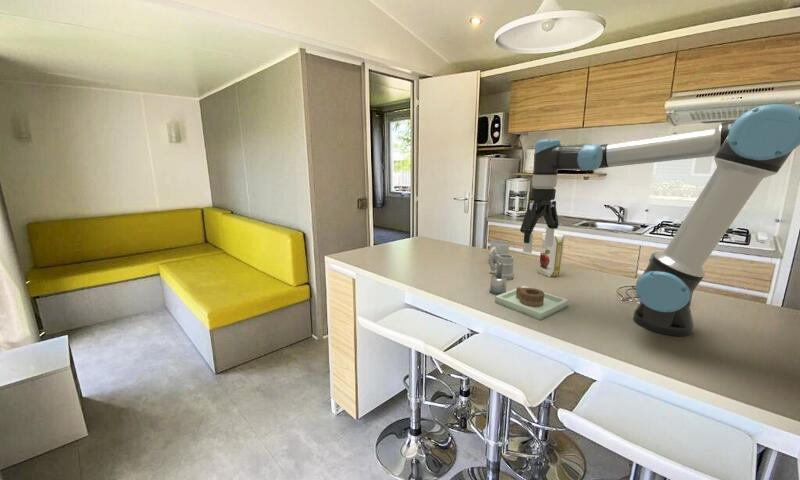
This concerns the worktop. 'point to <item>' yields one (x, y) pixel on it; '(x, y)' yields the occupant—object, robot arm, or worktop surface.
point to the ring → (530, 296)
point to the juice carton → (551, 256)
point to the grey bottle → (498, 282)
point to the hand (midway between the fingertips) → (538, 249)
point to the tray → (548, 308)
